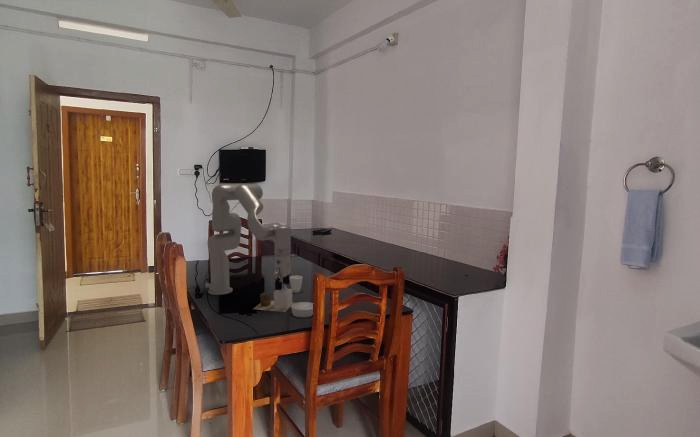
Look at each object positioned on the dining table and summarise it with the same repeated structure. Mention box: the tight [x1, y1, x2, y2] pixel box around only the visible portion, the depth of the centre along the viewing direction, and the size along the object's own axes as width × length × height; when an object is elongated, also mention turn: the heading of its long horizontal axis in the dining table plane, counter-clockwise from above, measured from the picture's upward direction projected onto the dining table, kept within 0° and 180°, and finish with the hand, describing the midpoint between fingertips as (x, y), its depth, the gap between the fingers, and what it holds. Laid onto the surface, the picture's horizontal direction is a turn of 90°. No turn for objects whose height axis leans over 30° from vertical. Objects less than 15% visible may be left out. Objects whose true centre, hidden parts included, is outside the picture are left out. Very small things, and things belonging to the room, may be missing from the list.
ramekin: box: [290, 301, 314, 318], centre depth 195 cm, size 11×11×5 cm
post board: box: [252, 292, 296, 313], centre depth 205 cm, size 16×14×7 cm
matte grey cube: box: [273, 287, 293, 310], centre depth 204 cm, size 7×7×8 cm
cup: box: [283, 275, 303, 294], centre depth 233 cm, size 7×10×8 cm
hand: (282, 286), depth 204 cm, fingers open, 9 cm apart
